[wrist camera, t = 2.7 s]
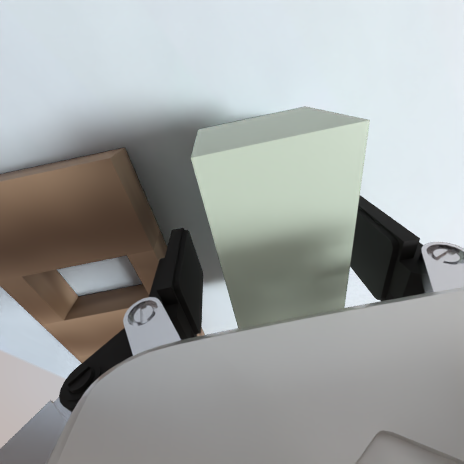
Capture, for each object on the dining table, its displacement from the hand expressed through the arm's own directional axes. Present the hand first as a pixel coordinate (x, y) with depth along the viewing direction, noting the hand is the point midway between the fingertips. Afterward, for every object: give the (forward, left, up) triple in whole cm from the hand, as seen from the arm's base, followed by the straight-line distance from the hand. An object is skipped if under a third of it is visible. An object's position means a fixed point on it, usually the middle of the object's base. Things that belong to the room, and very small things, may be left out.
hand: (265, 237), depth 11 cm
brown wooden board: (+6, -11, -3) cm, 12 cm away
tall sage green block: (0, 0, -3) cm, 3 cm away
